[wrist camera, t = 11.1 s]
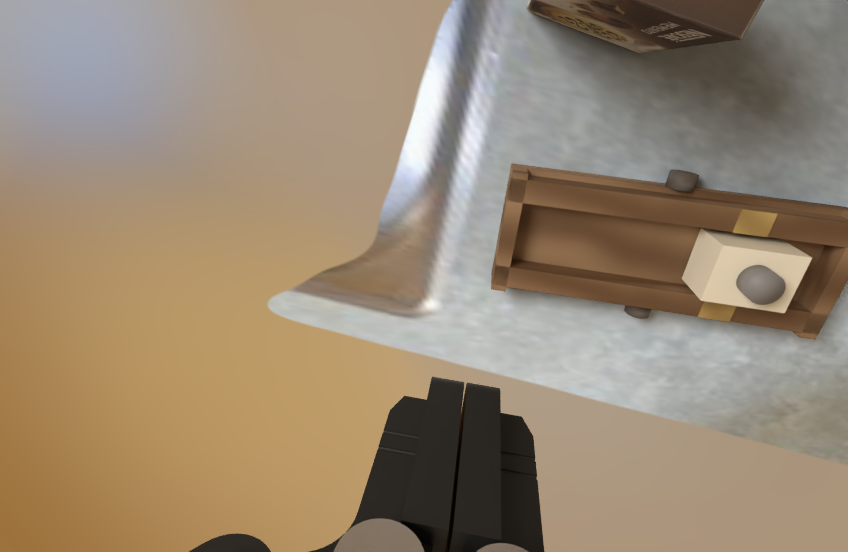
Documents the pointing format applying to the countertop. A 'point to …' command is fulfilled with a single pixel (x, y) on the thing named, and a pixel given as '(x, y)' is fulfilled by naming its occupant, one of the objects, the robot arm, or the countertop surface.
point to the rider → (745, 270)
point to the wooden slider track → (657, 243)
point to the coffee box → (653, 20)
